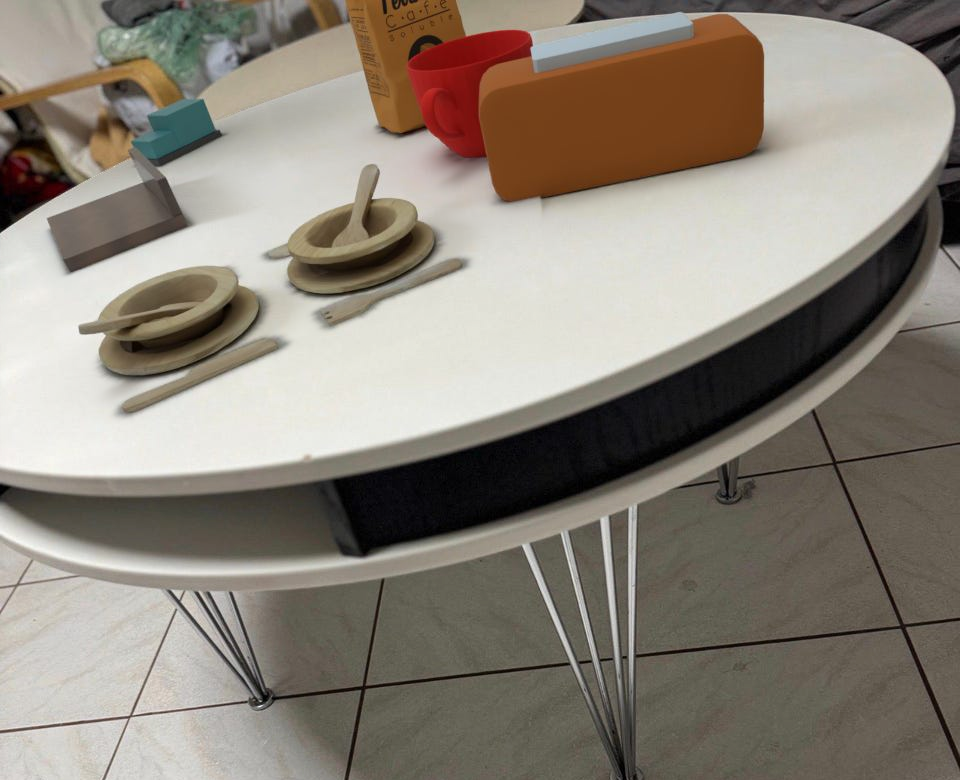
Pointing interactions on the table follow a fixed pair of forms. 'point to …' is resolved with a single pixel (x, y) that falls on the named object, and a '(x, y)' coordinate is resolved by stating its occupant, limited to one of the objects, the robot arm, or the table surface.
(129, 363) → the tableware set
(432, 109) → the ceramic cup
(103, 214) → the brown l-shaped piece
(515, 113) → the alarm clock
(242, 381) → the table surface
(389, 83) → the coffee package
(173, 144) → the teal l-shaped block
